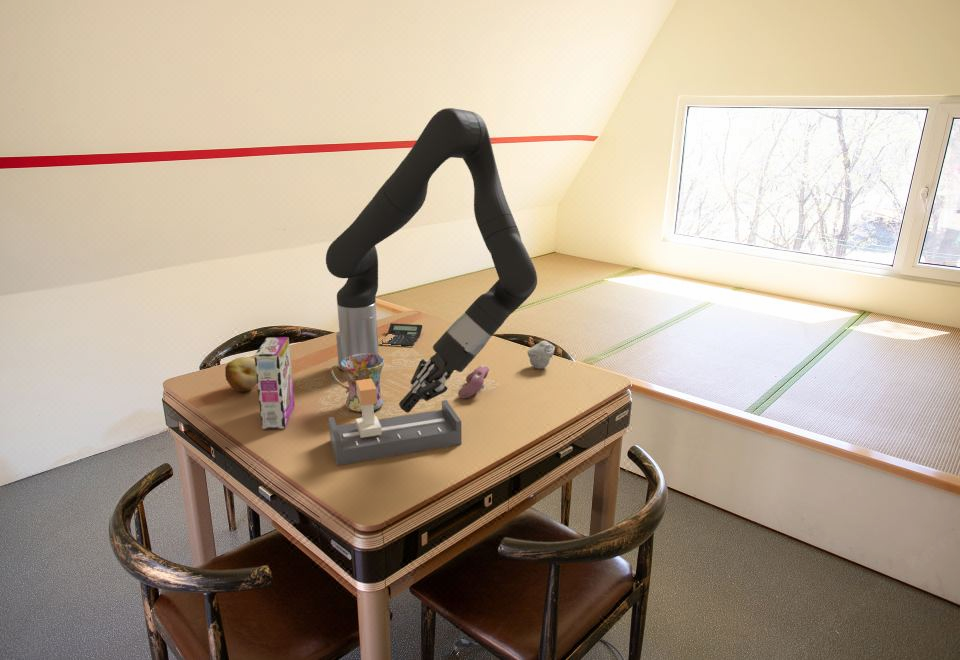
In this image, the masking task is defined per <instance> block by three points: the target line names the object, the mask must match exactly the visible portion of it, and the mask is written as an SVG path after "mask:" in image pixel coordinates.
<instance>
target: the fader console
mask: <svg viewBox="0 0 960 660" xmlns="http://www.w3.org/2000/svg"><path fill="white" fill-rule="evenodd" d="M378 421H379V423H380V425H381V429H382V435H376V436H370V437H364V438H361V437H360V435H359V432H358V429H357V427H356V422H353V423H352V422H351V423H347V424H340V425H337V423H336V419H335V417H334V416H331V417H328V426H329V427H328V428H329V440H330V443H331V447H332V450H333V455H334V458H335V461H336V465H337V466H342V465H347V464H353V463H361V462H363V461H370V460H377V459H383V458H388V457H393V456H400V455H405V454H411V453H417V452H423V451H428V450H435V449H439V448H446V447H451V446H457V444H459V445H462V440H463V439H462V420H461V419H460V417H459V415H457V413H456V411H455V410H454V408H453V407H452V406H451V404H450V403H449V401H448V400H445V399H444V400H441V409H437V410H431V411H424V412H417V413H412V414H405V415H404V414H403V415H399V416H392V417H384V418H378Z"/></svg>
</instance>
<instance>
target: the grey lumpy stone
mask: <svg viewBox="0 0 960 660" xmlns="http://www.w3.org/2000/svg"><path fill="white" fill-rule="evenodd" d="M555 348H556V347H555V346H554V345H553V344H552V343H550V342H549V341H547V340H542V341H539V342H538V343H536V344H535V345H533V346H532V347H531V348H529V350H527V356H528V358H529V363H530V365H531V366H532V367H533V368H535V369H537V370H538V369H539V370H542V369H545V368H546V367H548V365H549V363H550V360H551V358H553V356H554V353H555V351H556V350H555Z"/></svg>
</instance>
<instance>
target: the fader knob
mask: <svg viewBox="0 0 960 660" xmlns="http://www.w3.org/2000/svg"><path fill="white" fill-rule="evenodd" d="M356 390H357V397H358V399H359V401H360V404H361V409H362V412H361V417H360V418H355V423H356V427H357V429H358V432H359V435H360V437H361V438H364V437H370V436H376V435H382V429H381V425H380V423H379V421H378V419H379V418H378V417H377V415H375V410H374V405H373V404H377V389H376V387H375V385H374V383H373V380H372V379H364V380H357V381H356Z"/></svg>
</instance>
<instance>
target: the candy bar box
mask: <svg viewBox="0 0 960 660" xmlns="http://www.w3.org/2000/svg"><path fill="white" fill-rule="evenodd" d="M262 342H263V343H262V344H261V345H260V347H259V348H258V349H257V351H256V352H255V353H254V356H253V357H254V360H255V366H256V375H257V384H256V385H257V391H258V401H259V402H258V403H259V411H260V421H261V429H262V430H284V429H285V430H286V427H287V425H288V422H289V420H290V418H291V416H292V412H293V411H294V409H295V406H296V405H295V395H294V385H293V373H292V372H293V371H292V362H291V361H292V360H291V350H290V349H291V348H290V338H289V337H286V336H282V337H281V336H280V337H279V336H276V337H275V336H274V337H266V338H265V339H264V341H262Z"/></svg>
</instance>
